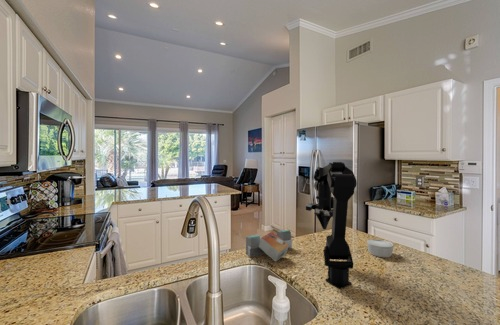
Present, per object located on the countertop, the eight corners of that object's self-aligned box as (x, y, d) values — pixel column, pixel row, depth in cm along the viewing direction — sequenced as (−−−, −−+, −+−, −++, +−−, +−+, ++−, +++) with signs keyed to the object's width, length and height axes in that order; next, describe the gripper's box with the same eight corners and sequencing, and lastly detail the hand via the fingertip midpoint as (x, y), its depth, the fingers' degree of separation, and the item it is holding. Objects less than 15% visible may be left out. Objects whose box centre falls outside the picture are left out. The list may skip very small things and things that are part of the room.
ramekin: (386, 249, 117) (386, 239, 116) (398, 259, 105) (398, 247, 105) (363, 248, 118) (363, 238, 118) (372, 258, 107) (372, 246, 106)
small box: (279, 253, 99) (261, 237, 105) (275, 262, 102) (257, 246, 107) (289, 245, 105) (272, 230, 111) (286, 254, 107) (268, 239, 113)
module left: (260, 254, 110) (260, 235, 109) (251, 256, 107) (251, 237, 107) (255, 251, 114) (255, 232, 114) (245, 253, 111) (245, 234, 111)
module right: (290, 248, 118) (290, 230, 118) (282, 249, 116) (282, 231, 116) (284, 244, 123) (284, 227, 123) (276, 246, 120) (276, 229, 120)
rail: (292, 248, 117) (293, 239, 117) (250, 258, 106) (251, 247, 106) (289, 246, 120) (289, 237, 120) (247, 255, 108) (247, 245, 108)
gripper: (354, 195, 102) (354, 232, 102) (322, 190, 118) (321, 222, 118) (336, 197, 96) (336, 236, 96) (305, 192, 113) (304, 225, 113)
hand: (324, 229), depth 106 cm, fingers closed
